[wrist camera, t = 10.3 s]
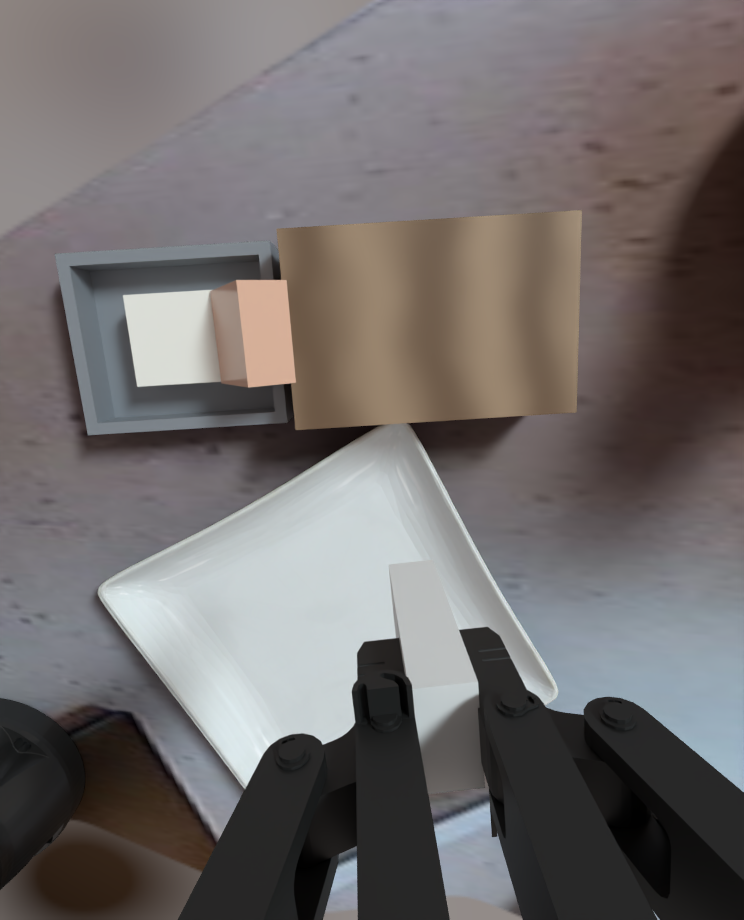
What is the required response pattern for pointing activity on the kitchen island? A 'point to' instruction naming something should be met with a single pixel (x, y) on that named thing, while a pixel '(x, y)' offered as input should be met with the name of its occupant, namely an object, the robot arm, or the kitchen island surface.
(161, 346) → the cream tile
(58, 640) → the kitchen island surface
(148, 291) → the bin
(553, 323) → the brushed bronze panel
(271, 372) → the terracotta tile
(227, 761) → the square plate
